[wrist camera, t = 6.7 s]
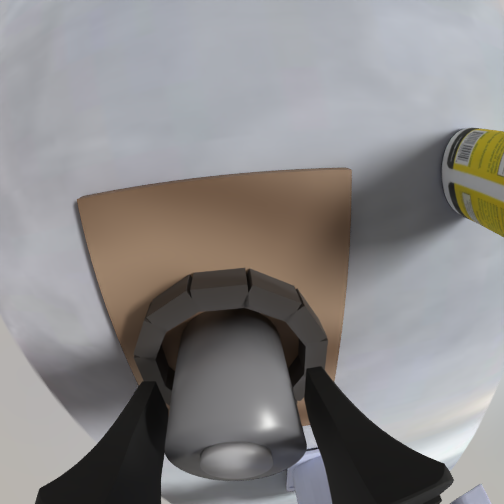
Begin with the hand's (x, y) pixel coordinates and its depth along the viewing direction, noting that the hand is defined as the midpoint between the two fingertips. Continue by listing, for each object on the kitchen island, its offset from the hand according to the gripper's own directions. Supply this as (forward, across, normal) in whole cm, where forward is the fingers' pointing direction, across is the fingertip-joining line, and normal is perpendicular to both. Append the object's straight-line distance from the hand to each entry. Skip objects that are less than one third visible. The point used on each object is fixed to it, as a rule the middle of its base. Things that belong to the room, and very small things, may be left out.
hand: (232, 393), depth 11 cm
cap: (+3, 0, 0) cm, 3 cm away
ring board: (+3, 0, 0) cm, 3 cm away
